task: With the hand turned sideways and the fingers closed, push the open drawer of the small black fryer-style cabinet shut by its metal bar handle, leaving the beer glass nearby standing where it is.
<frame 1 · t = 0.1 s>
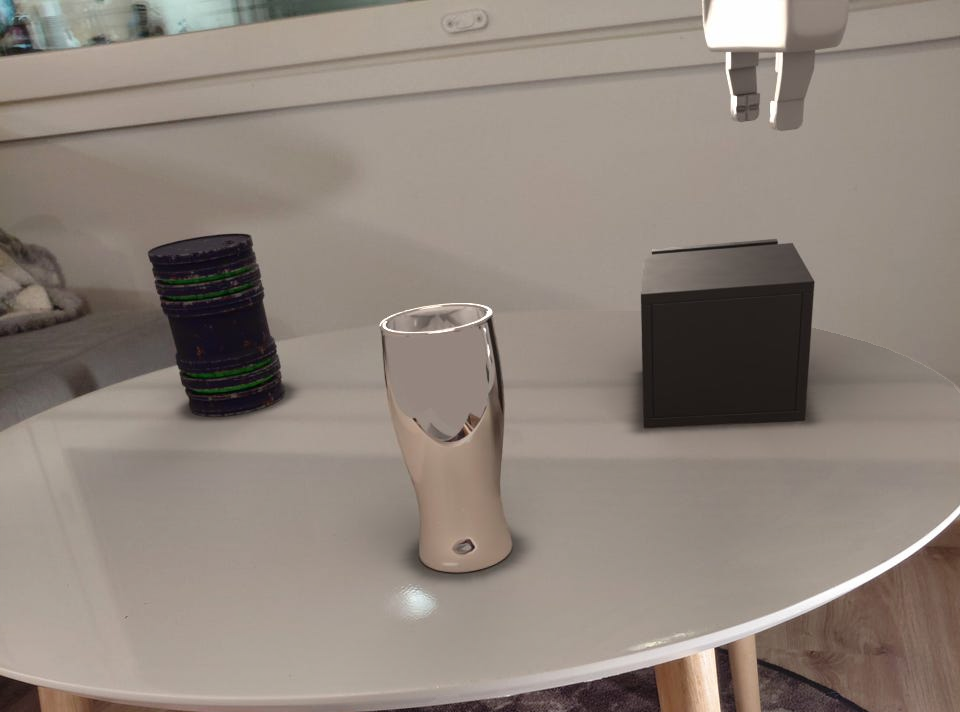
hand: (764, 125, 70), 21 cm above the table, tool pointing down, fingers open, 8 cm apart
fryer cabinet: (718, 395, 84), on the table
storage jar: (238, 402, 99), on the table
beer glass: (466, 554, 64), on the table
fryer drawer: (714, 304, 90), point 5 cm above the table, slide at 6.0 cm
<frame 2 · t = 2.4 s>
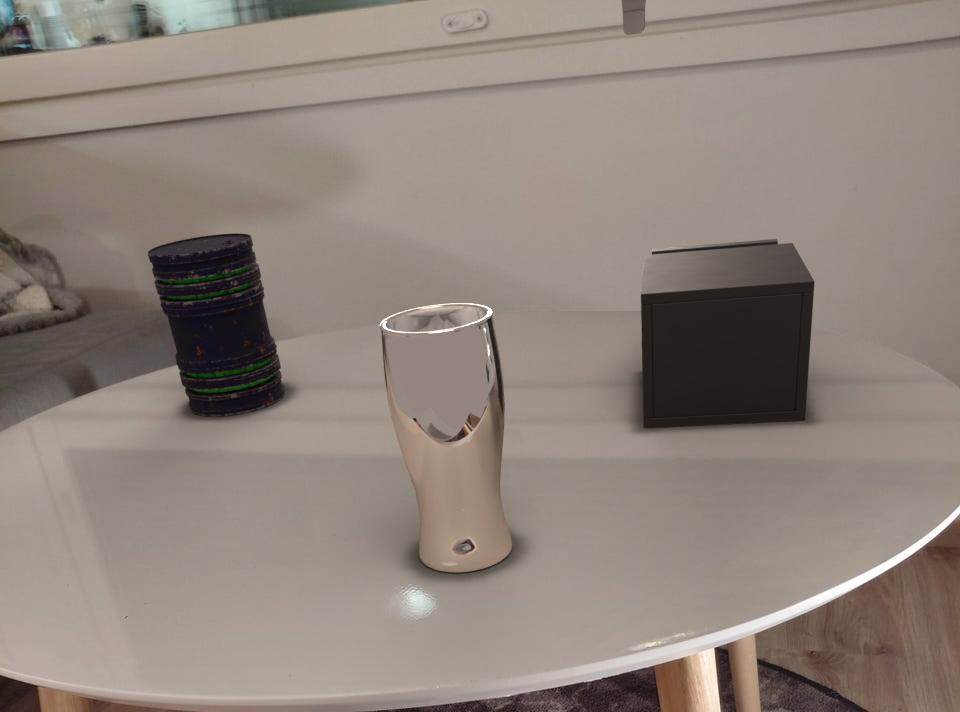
hand: (634, 33, 90), 27 cm above the table, tool pointing down, fingers open, 6 cm apart
nothing on the table moved.
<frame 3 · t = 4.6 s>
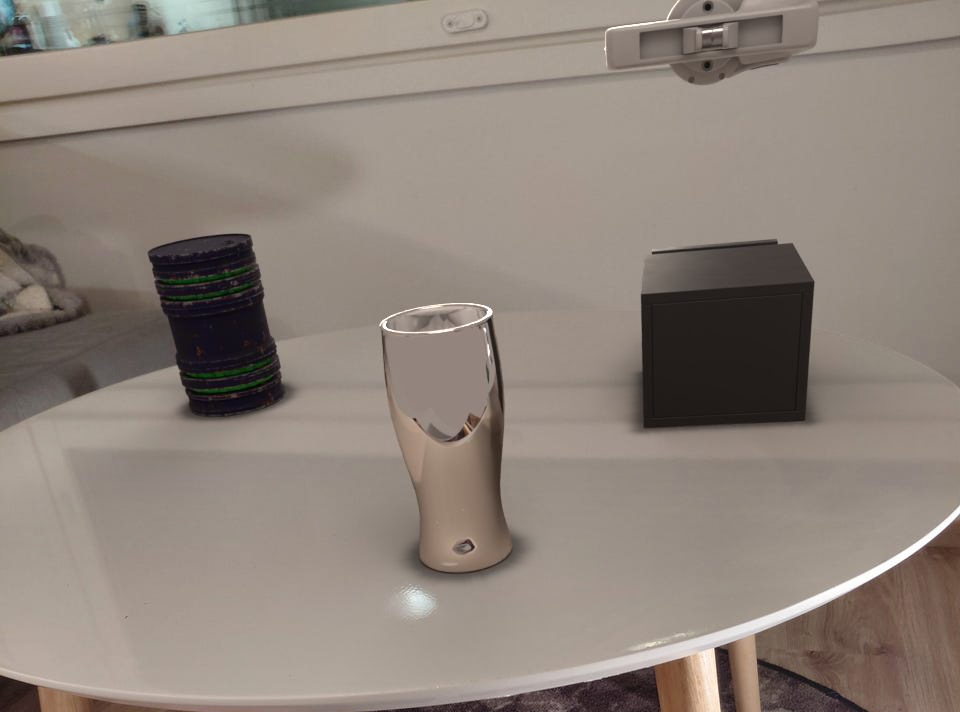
hand: (712, 39, 90), 26 cm above the table, tool horizontal, fingers closed
nothing on the table moved.
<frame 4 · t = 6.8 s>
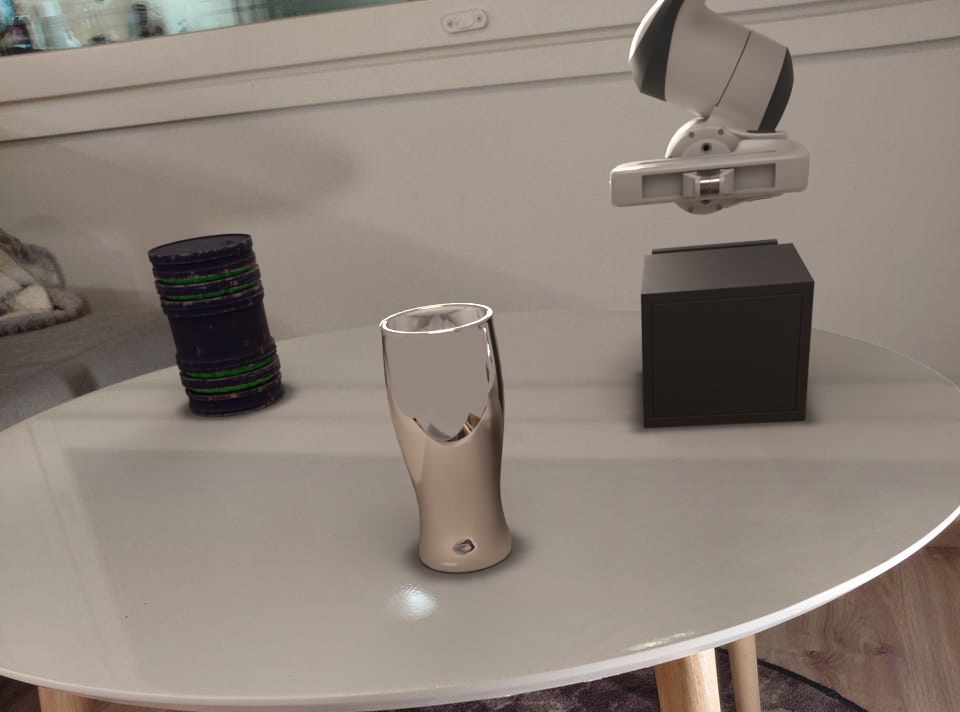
hand: (709, 188, 96), 13 cm above the table, tool horizontal, fingers closed
nothing on the table moved.
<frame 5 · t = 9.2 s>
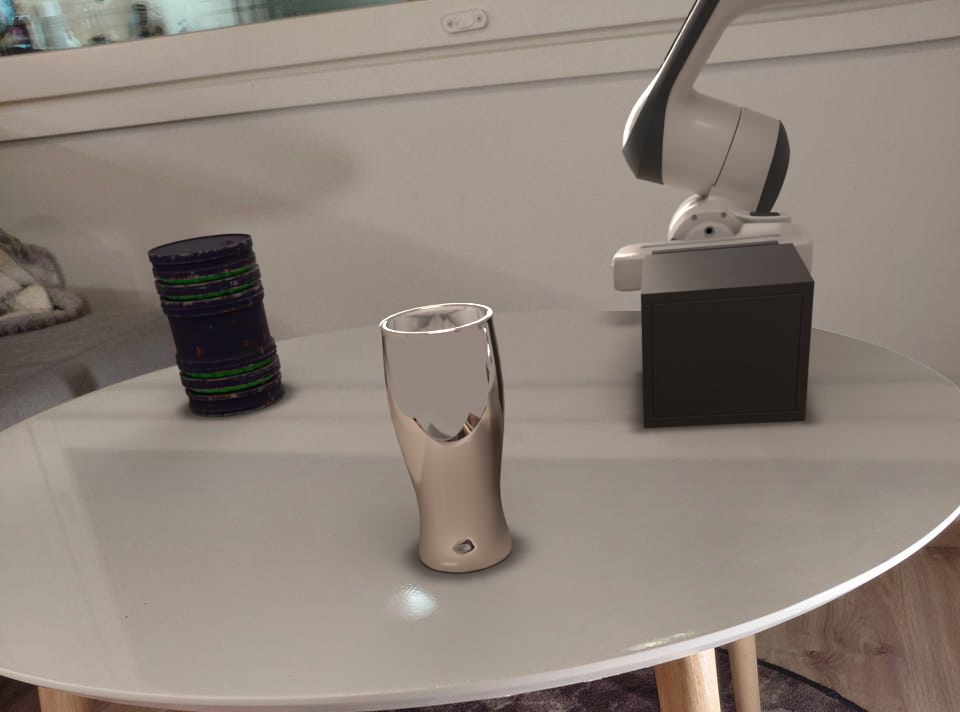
hand: (713, 278, 96), 6 cm above the table, tool horizontal, fingers closed, pressing on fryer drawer
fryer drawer: (715, 306, 89), point 5 cm above the table, slide at 5.2 cm, touching gripper
everything else where it was.
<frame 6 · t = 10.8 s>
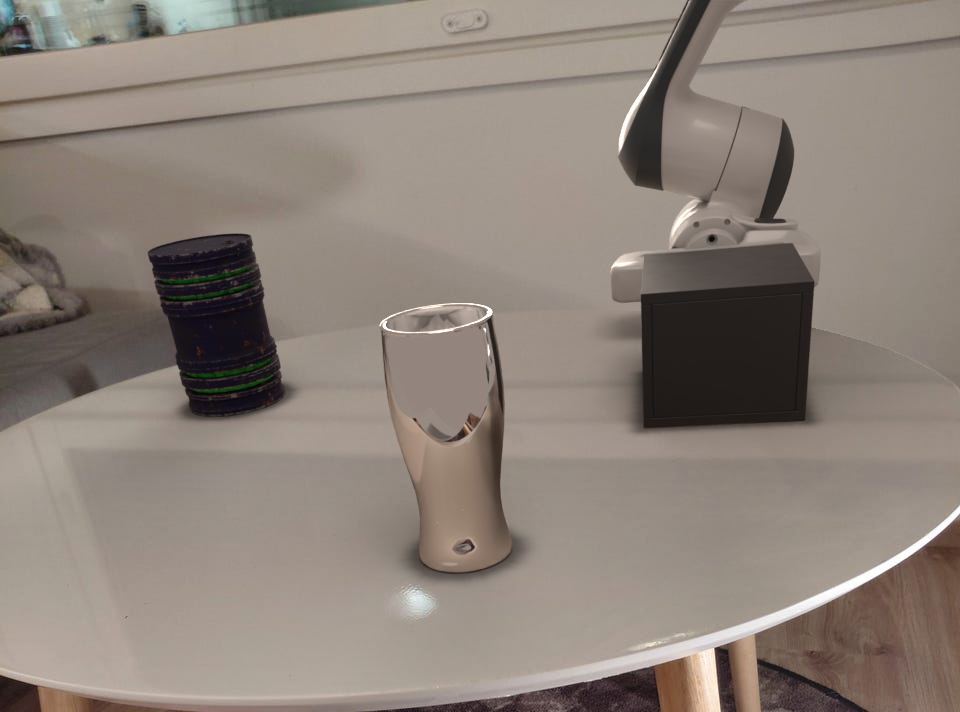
hand: (715, 290, 92), 6 cm above the table, tool horizontal, fingers closed, pressing on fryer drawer
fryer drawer: (717, 321, 85), point 5 cm above the table, slide at 0.0 cm, touching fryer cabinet, gripper
everything else where it was.
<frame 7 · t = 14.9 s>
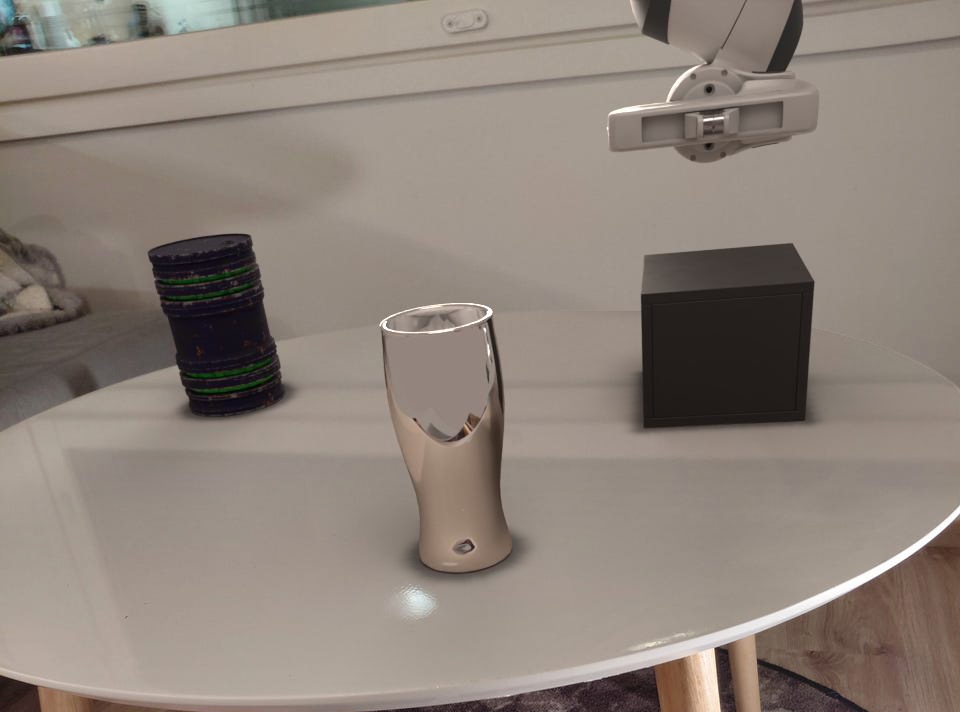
hand: (713, 127, 91), 19 cm above the table, tool horizontal, fingers closed
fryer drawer: (717, 321, 85), point 5 cm above the table, slide at 0.0 cm, touching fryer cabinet
everything else where it was.
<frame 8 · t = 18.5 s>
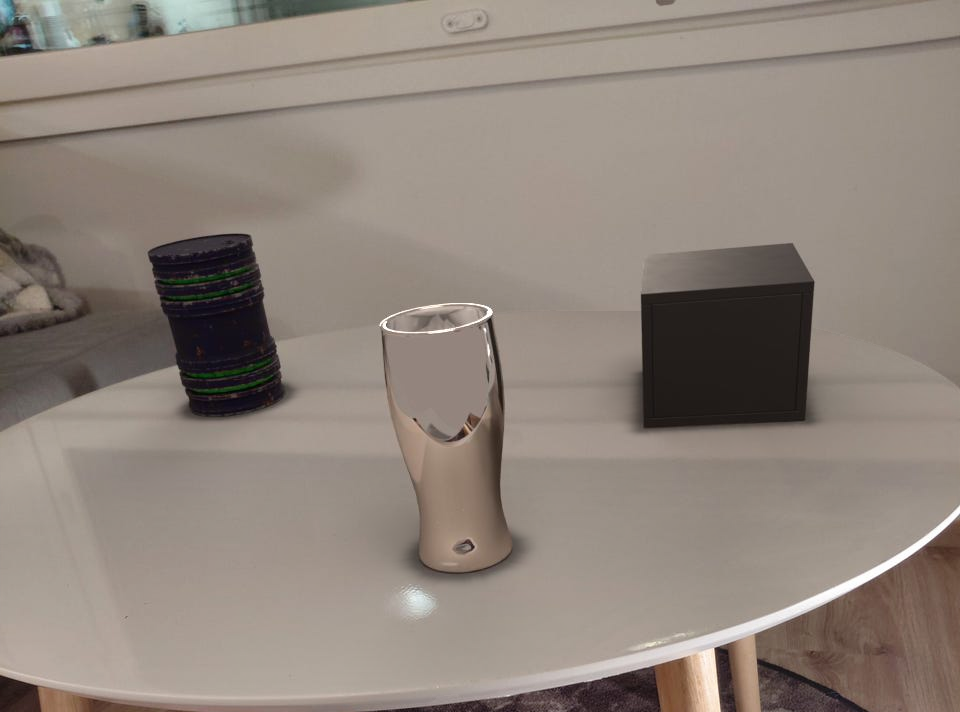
hand: (665, 5, 89), 29 cm above the table, tool pointing down, fingers closed
nothing on the table moved.
at the end: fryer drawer slide at 0.0 cm; beer glass moved 0.2 cm from its start; beer glass tilted 0° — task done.
